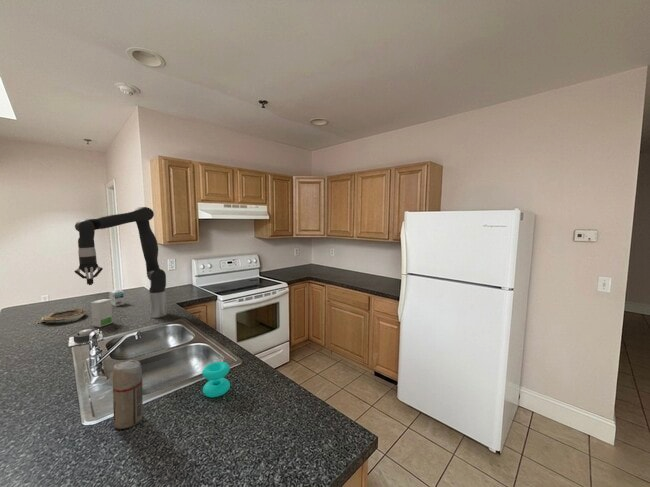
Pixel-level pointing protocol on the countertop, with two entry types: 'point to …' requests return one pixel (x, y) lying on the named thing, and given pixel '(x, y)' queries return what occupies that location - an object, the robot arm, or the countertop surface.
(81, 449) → the countertop surface
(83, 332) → the cap
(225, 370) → the teal spool
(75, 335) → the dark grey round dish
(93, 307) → the skincare box
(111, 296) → the light bulb box
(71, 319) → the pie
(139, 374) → the brown cylinder
